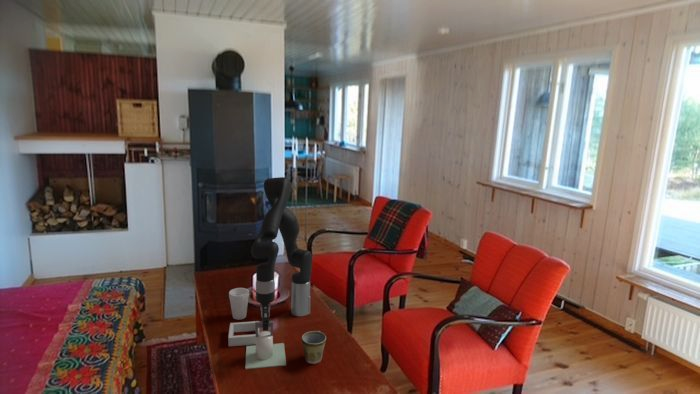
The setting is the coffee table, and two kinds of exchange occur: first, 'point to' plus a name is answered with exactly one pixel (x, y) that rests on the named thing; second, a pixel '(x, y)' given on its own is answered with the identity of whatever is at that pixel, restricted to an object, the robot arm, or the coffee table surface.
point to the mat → (275, 360)
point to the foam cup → (239, 302)
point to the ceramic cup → (313, 346)
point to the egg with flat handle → (264, 341)
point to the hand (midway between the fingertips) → (265, 328)
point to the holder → (242, 339)
